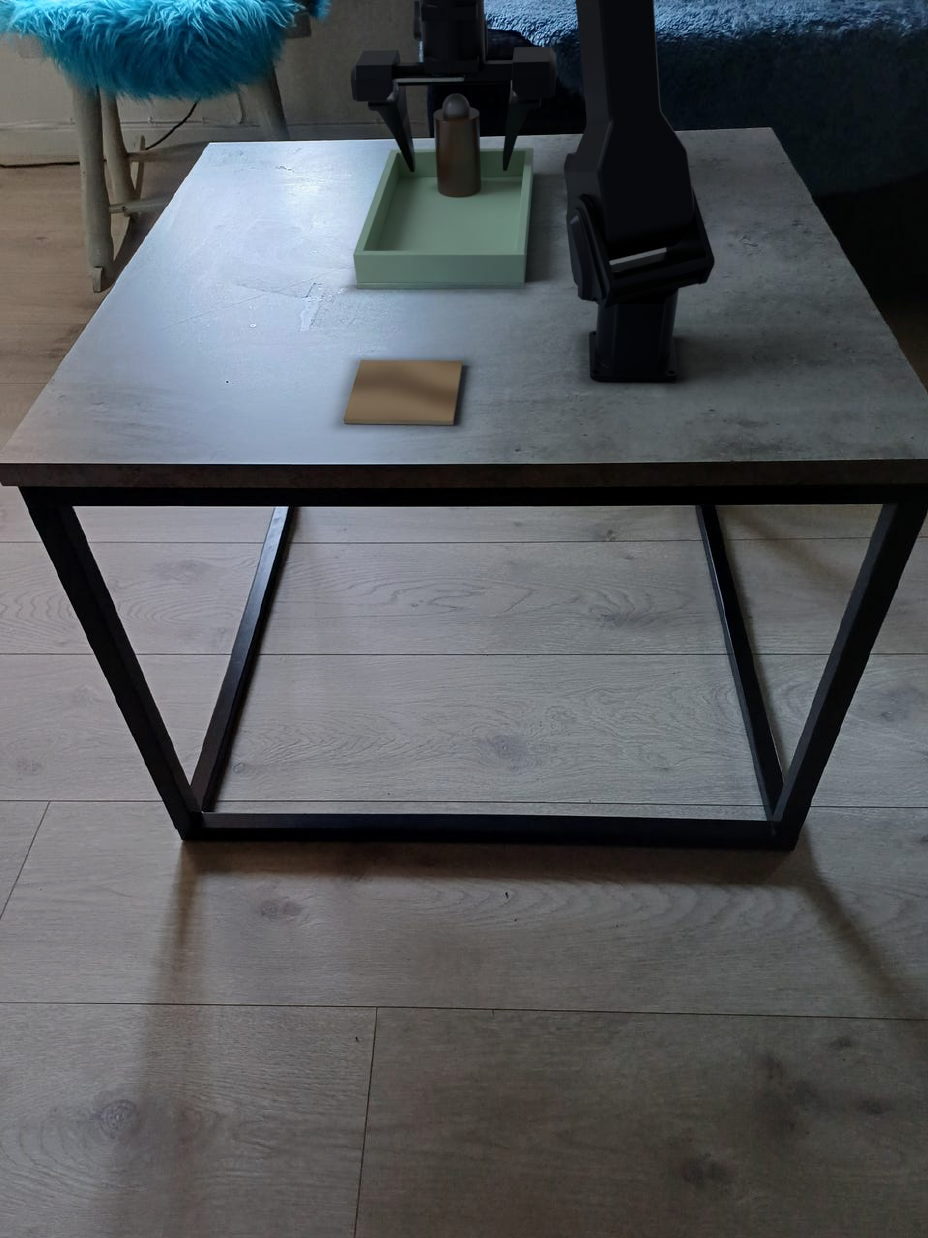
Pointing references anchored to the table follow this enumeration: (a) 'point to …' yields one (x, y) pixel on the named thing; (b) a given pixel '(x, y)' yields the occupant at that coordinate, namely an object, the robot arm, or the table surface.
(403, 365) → the cork mat
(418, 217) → the tray
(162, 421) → the table surface
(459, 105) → the pepper mill
